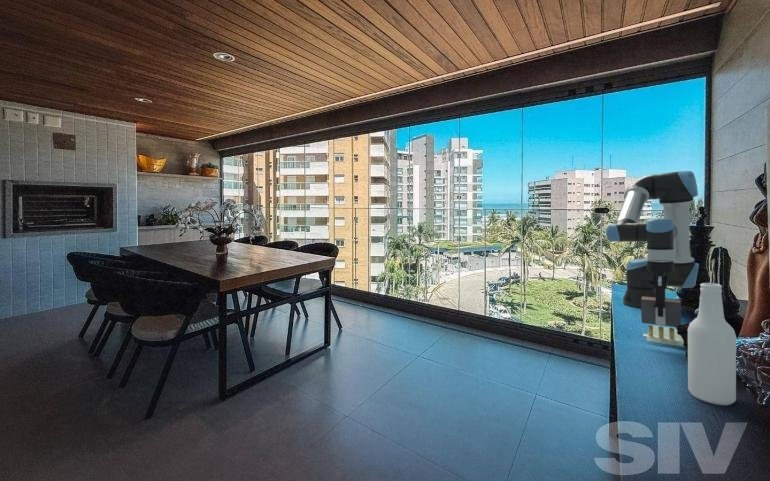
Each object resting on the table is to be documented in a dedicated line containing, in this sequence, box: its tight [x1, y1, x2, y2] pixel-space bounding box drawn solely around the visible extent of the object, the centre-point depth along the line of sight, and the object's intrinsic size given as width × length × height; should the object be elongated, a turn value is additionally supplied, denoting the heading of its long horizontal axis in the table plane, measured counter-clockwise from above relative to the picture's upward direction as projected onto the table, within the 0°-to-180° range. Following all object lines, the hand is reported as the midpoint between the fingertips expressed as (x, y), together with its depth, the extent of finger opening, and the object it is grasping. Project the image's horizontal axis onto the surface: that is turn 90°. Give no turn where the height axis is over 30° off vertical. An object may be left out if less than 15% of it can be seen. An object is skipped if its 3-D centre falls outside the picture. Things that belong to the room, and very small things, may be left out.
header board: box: [642, 324, 685, 350], centre depth 122 cm, size 20×13×5 cm, turn 138°
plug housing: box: [640, 296, 682, 328], centre depth 119 cm, size 5×11×9 cm, turn 48°
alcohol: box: [687, 282, 737, 406], centre depth 83 cm, size 9×9×30 cm
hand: (660, 322), depth 119 cm, fingers closed on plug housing, 5 cm apart
